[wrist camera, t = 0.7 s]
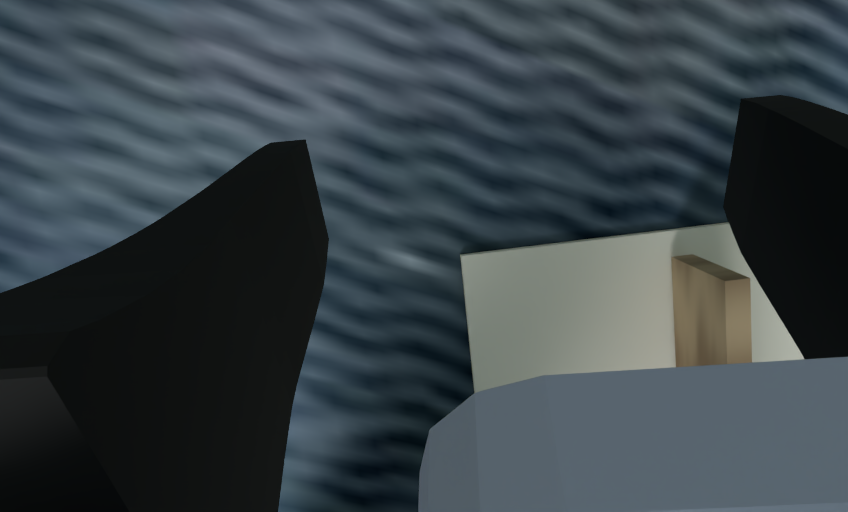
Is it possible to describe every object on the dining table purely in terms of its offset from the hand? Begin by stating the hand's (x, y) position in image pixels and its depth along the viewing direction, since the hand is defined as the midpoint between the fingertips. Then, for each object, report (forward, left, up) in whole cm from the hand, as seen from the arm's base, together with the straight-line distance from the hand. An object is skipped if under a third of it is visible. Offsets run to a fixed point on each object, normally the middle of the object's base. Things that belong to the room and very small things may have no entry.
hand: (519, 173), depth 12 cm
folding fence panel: (-11, -11, -18) cm, 24 cm away
